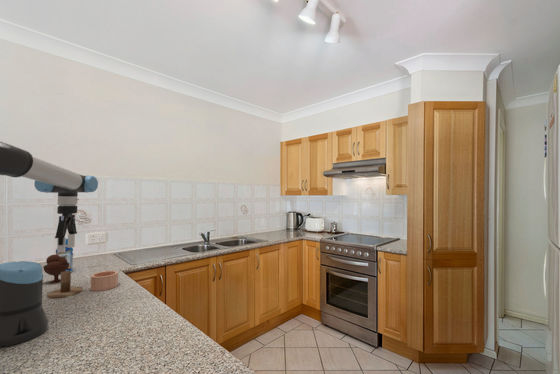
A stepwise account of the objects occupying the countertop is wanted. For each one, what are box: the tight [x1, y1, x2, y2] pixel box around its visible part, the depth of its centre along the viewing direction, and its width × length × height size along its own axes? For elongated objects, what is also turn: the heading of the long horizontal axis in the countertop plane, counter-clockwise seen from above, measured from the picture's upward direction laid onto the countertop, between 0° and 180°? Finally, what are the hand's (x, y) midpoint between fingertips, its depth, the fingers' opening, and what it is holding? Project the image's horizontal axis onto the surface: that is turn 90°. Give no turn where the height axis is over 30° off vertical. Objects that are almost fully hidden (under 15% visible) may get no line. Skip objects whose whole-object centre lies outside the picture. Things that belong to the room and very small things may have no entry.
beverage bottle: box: [55, 238, 74, 273], centre depth 158 cm, size 8×8×20 cm
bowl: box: [90, 270, 119, 292], centre depth 130 cm, size 11×11×7 cm
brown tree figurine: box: [42, 254, 70, 284], centre depth 140 cm, size 11×11×15 cm
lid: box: [46, 271, 84, 300], centre depth 122 cm, size 13×13×10 cm
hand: (66, 249), depth 126 cm, fingers open, 13 cm apart
